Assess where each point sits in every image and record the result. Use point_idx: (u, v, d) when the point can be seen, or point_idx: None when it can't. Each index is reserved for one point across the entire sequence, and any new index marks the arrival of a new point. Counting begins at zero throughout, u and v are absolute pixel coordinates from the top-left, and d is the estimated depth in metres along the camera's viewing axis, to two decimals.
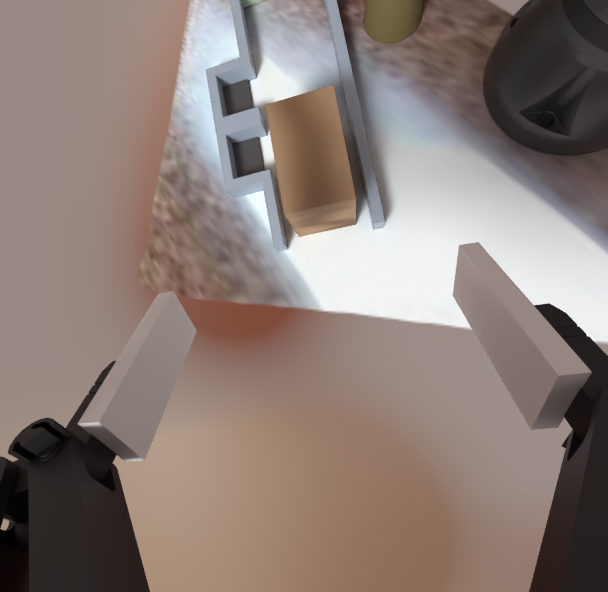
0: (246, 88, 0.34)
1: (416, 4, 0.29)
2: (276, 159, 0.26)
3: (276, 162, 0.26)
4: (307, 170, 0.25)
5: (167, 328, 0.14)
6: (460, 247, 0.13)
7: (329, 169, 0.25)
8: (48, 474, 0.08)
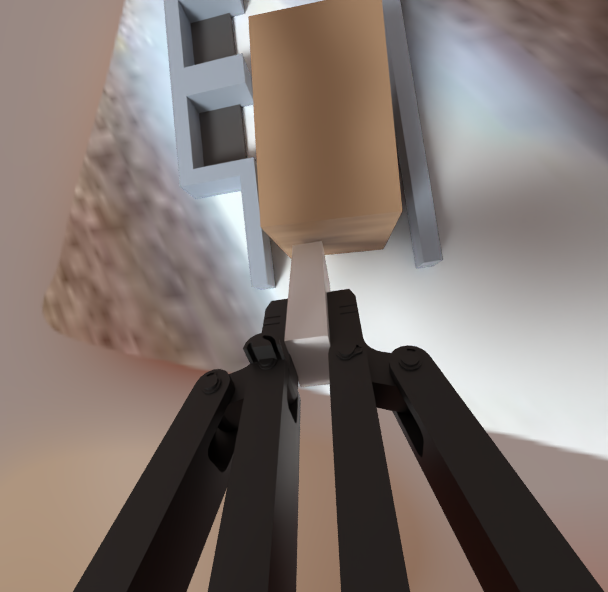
0: (227, 27, 0.22)
1: None
2: (257, 120, 0.14)
3: (256, 125, 0.14)
4: (313, 146, 0.13)
5: None
6: (307, 245, 0.15)
7: (356, 149, 0.13)
8: (261, 383, 0.09)
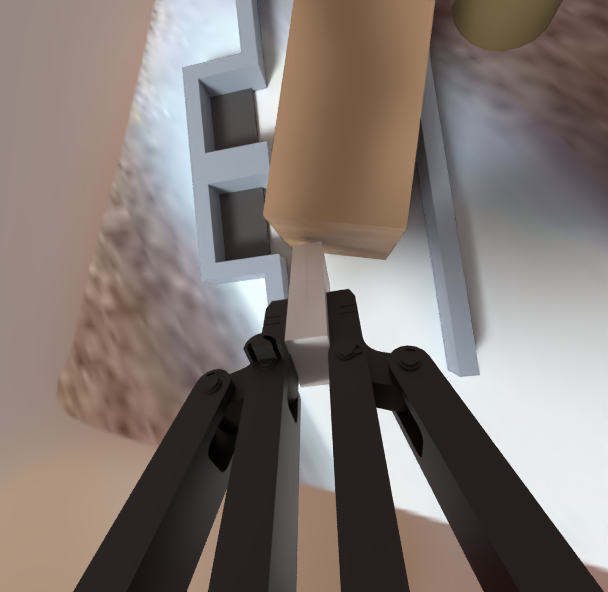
0: (249, 104, 0.21)
1: None
2: (282, 105, 0.13)
3: (280, 111, 0.13)
4: (332, 144, 0.13)
5: None
6: (307, 245, 0.15)
7: (374, 156, 0.13)
8: (262, 383, 0.09)
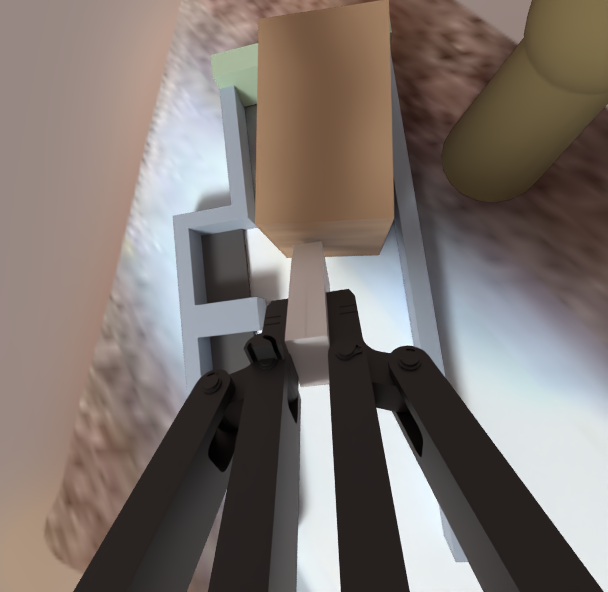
0: (240, 244, 0.21)
1: (554, 160, 0.16)
2: (259, 120, 0.14)
3: (258, 125, 0.14)
4: (312, 148, 0.14)
5: None
6: (307, 245, 0.15)
7: (353, 155, 0.13)
8: (262, 383, 0.09)
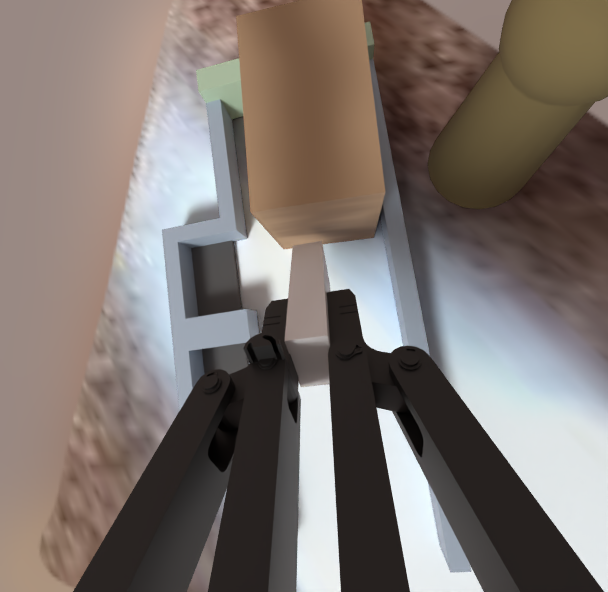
0: (230, 256, 0.21)
1: (537, 167, 0.16)
2: (246, 111, 0.14)
3: (245, 117, 0.14)
4: (299, 134, 0.14)
5: None
6: (307, 245, 0.15)
7: (339, 136, 0.14)
8: (261, 383, 0.09)
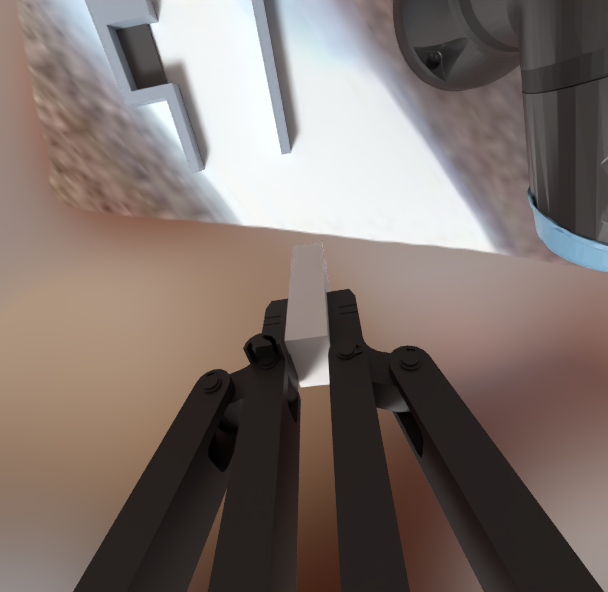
0: None
1: None
2: None
3: None
4: None
5: None
6: (307, 245, 0.15)
7: None
8: (261, 383, 0.09)
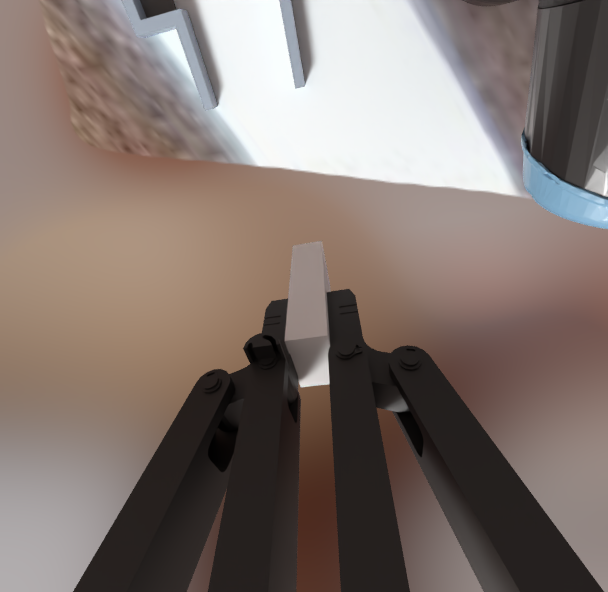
0: None
1: None
2: None
3: None
4: None
5: None
6: (307, 245, 0.15)
7: None
8: (261, 383, 0.09)
